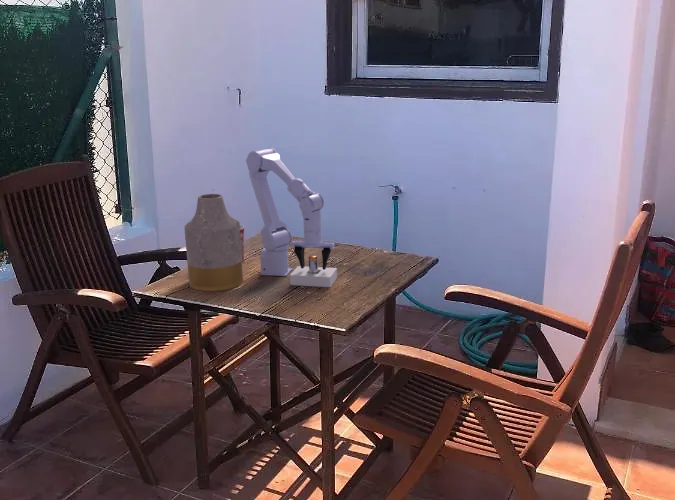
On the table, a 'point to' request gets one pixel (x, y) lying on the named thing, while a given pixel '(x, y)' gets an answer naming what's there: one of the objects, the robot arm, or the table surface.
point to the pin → (313, 264)
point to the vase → (213, 247)
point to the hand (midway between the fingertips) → (313, 268)
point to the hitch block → (313, 277)
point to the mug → (242, 241)
